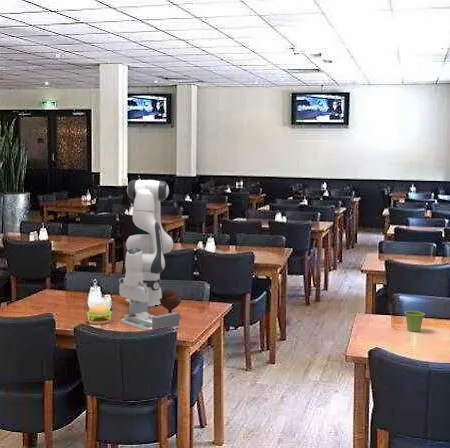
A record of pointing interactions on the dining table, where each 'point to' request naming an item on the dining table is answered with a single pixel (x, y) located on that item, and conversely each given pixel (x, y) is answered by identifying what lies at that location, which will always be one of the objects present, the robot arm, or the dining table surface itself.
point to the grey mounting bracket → (153, 321)
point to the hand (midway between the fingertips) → (134, 308)
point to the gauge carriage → (139, 310)
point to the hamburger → (99, 314)
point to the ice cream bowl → (169, 300)
